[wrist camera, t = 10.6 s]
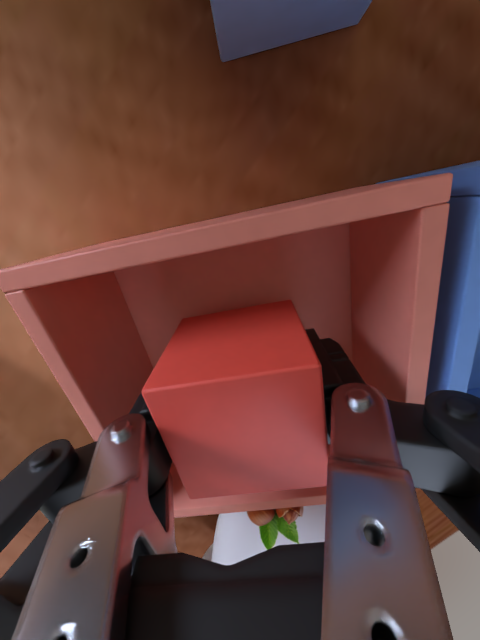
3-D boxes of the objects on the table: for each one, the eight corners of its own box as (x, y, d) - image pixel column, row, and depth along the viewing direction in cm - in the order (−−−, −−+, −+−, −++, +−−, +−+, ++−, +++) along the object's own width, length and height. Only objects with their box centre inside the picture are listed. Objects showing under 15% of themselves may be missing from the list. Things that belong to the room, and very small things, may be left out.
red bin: (96, 244, 11) (-11, 272, 6) (358, 186, 10) (455, 171, 5) (173, 427, 16) (142, 521, 11) (360, 403, 14) (413, 496, 10)
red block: (181, 317, 10) (138, 391, 6) (291, 298, 10) (322, 364, 6) (208, 401, 12) (189, 501, 8) (302, 388, 12) (332, 487, 8)
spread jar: (368, 456, 16) (596, 928, 6) (348, 549, 21) (452, 903, 10) (184, 460, 17) (79, 893, 6) (205, 550, 22) (165, 884, 11)
